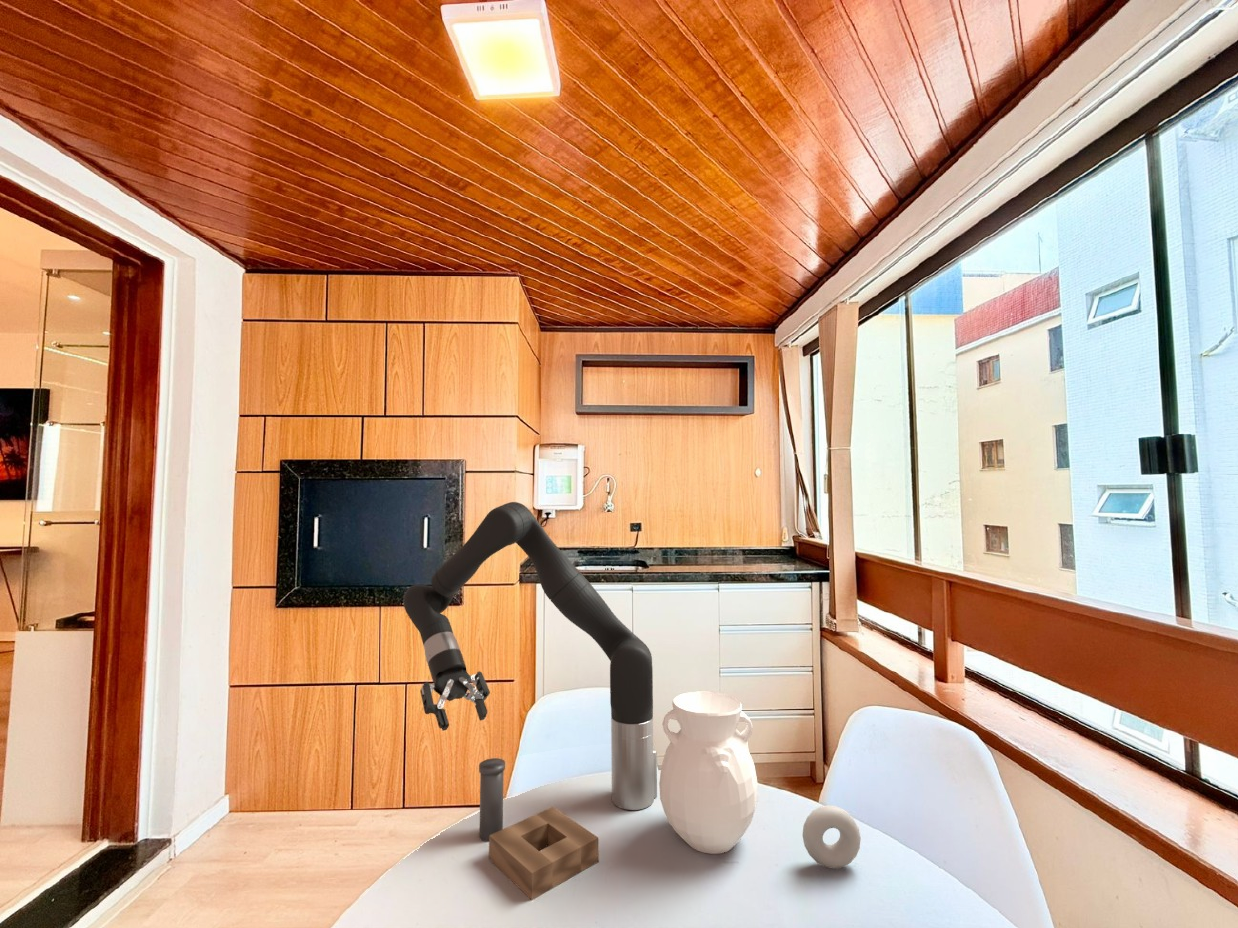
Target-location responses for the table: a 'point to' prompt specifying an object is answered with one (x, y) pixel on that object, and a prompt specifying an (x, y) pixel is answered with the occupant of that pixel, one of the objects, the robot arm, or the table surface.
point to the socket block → (543, 851)
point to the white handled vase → (708, 772)
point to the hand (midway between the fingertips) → (465, 723)
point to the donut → (838, 851)
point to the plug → (491, 797)
